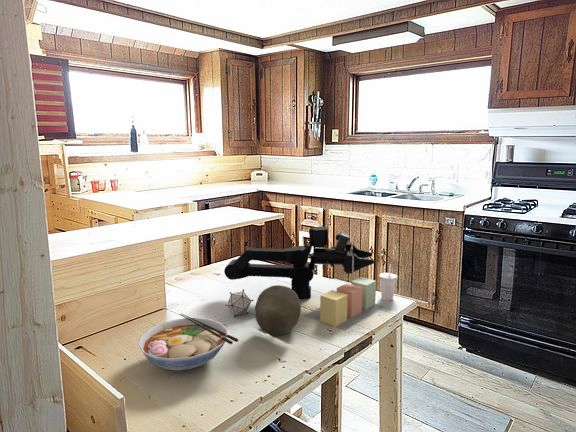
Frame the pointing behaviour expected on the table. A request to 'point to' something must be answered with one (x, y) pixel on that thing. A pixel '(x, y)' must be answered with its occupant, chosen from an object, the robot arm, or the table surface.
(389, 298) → the smoothie
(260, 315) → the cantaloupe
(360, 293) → the terracotta block
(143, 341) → the ramen bowl
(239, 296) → the grey spiked polyhedron
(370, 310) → the grey mat
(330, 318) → the mustard block
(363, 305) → the sage block
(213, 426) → the table surface
